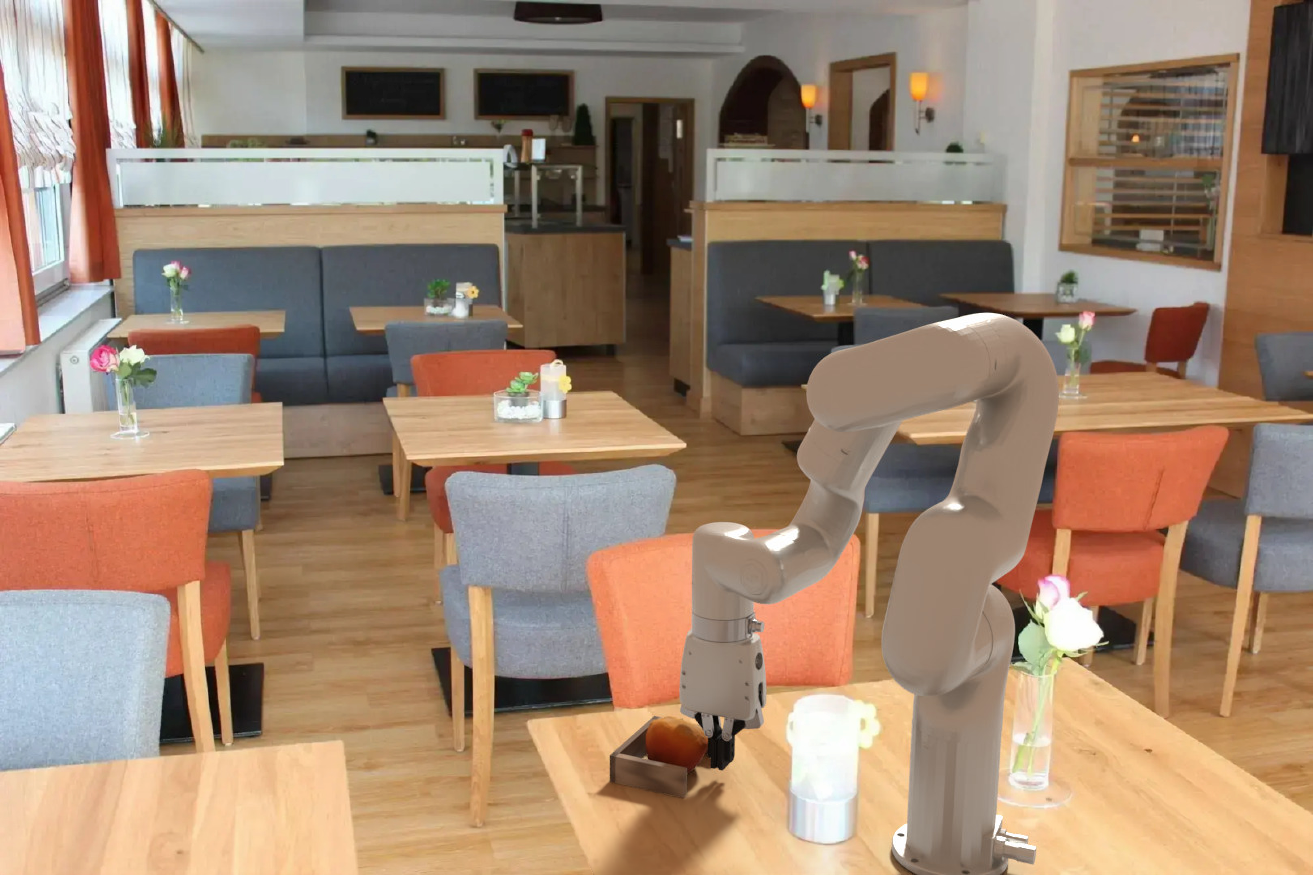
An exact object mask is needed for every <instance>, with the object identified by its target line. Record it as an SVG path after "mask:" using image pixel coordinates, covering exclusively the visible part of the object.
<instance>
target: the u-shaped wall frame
mask: <svg viewBox="0 0 1313 875" xmlns="http://www.w3.org/2000/svg"><path fill="white" fill-rule="evenodd" d="M661 718H664V716H663V717H661V716H657V715H654V716H652V717H651V718H650V719H649V720H648V721H647V722H645V724H644V725H642V726H641V727H640V728H639V729H637V730H636V731H635V732H634V733H633V734H632V735H631V736H630V737H628V738H627V739H626V740H625V741H624V742H622V744H621V745H619V746H618V747H617V748H616V749H615V750H614V751H613V752H612V753H611V754H610V755H609V782H610V783H615V784H619V785H623V786H627V787H628V786H629V787H633V788H635V789H636V788H637V789H641V790H645V791H646V790H647V791H650V792H655V793H658V794H663V795H669V796H673V797H678V798H681V799H685V797H686V796H687V795H688V773H687V768H685V767H680V766H676V765H671V764H666V763H662V762H657V761H652V760H648V758H644V757H645V756H647V752H646V746H645V745H646V733H647V730H648V727H649V725H650V723H651V722H652V721H653V720H657V719H661ZM695 724H696V725H698V726H700V725H699V724H698V723H695ZM700 727H701V726H700ZM701 729H702V727H701ZM702 730H703V729H702ZM703 731H704V730H703ZM704 756H708V748H707V751H706V753H705V754H704Z"/></svg>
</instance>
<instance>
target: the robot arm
mask: <svg viewBox="0 0 1313 875" xmlns="http://www.w3.org/2000/svg"><path fill="white" fill-rule="evenodd" d="M1059 385H1060V384H1059V379H1058V374H1057V370H1056V366H1055V364H1054V361H1053V359H1052V357H1051V355H1050V353H1049V351H1048V349H1047V348H1046V346H1045V345H1044V344H1043V342H1042V341H1041V340H1040V339H1039V337H1038V336H1037V335H1036V334H1035V333H1034V332H1033V331H1032V330H1031V329H1029V327H1027V326H1026V325H1024V324H1023V323H1021V322H1020V321H1019V320H1017V319H1015V318H1012V317H1010V316H1006V315H1005V314H1004V315H1003V314H1000V313H993V312H979V313H972V314H967V315H962V316H960V317H959V316H958V317H956V318H950V319H946V320H945V319H944V320H943V321H937V322H934V323H929V324H926V325H922V326H920V327H919V326H918V327H915V328H913V329H909V330H907V331H904V332H900V333H897V334H894V335H889V336H888V337H884V338H880V339H877V340H875V341H870V342H868V343H865V344H861V345H858V346H854V347H849V348H844V349H841V350H837V351H833V352H832V353H829V354H828V355H826V356H825V357H823V359H821V360H820V361H819V362H818V363H817V364H816V365H815V367H814V368H813V369H812V371H811V374H810V375H809V377H808V381H807V383H806V403H807V406H808V410H809V411H810V414H811V415H812V417H813V418H814V420H813V422H812V424H811V426H810V427H809V428H808V430H807V433H806V434H805V435H804V438H803V440H802V441H801V443H800V445H799V447H798V449H797V454H796V462H797V464H798V467H799V468H800V470H801V471H802V472H803V474H804V475H805V476H806V477H807V478H808V479H810V482H809V485H808V489H807V492H806V494H805V497H804V499H803V500H802V502H801V504H800V506H799V508H798V510H797V511H796V513H795V515H794V517H793V518H792V519H791V522H790V523H789V525H788V526H786V527H783V528H781V529H778V530H776V531H774V532H772V533H770V534H767V535H764V536H760V537H756V538H755V536H754V533H753V532H752V530H751V529H750V528H749V527H747V526H746V525H743V524H741V523H737V522H730V521H717V522H715V521H714V522H710V523H706V524H702V525H700V526H698V527H697V528H696V529H695V531H694V532H693V536H692V539H691V540H692V542H691V543H692V544H691V628H690V629H689V630H688V631H687V633H686V637H685V641H684V645H683V646H684V647H683V650H682V657H681V663H680V664H681V665H680V674H679V675H680V676H679V691H678V692H679V702H680V704H681V705H680V708H679V712H680V713H681V714H682V715H683V716H686V717H688V718H690V719H692V720H693V719H694V721H696V723H697V724H698V725H700V726H701V727H702V729H703V730H704V735H705V736H706V737H708V755H707V758H709V759H710V762H709V763H710V764H709V765H710V769H713V770H714V769H718V770H719V771H724V770H725V769H726V768H727V767H728V766H729V765H730V763H732V762H733V761H734V759H735V754H736V752H735V751H736V750H735V748H736V745H735V744H736V736H737V735H738V734H739V733H740V732H741V731H743V730H754V729H757V730H758V729H760V728H761V727H762V726H763V725H764V723H765V720H764V715H763V710H762V709H764V708H765V706H767V676H766V664H765V657H764V656H765V655H764V650H763V643H762V640H761V637H760V636H761V635H759V634H758V633H763V632H764V630H765V621H762V620H759V619H757V618H756V612H755V608H754V607H755V603H756V604H760V605H766V606H767V605H773V604H777V603H780V602H782V601H784V600H786V599H788V598H790V597H792V596H794V595H796V594H798V593H799V592H802V591H803V590H805V589H807V588H809V587H811V586H813V585H815V584H817V583H818V582H820V581H822V580H823V579H824V578H825V577H827V576H828V575H829V573H830V572H831V571H832V570H833V568H834V567H835V565H836V564H837V563H838V561H839V559H840V557H841V555H843V552H844V551H845V549H846V548H847V546H848V544H849V543H850V540H851V538H852V536H853V535H854V533H855V531H856V529H857V527H858V525H859V522H860V520H861V517H862V512H863V507H864V502H865V495H866V494H865V489H866V487H867V485H868V483H869V481H870V479H871V477H872V475H873V473H874V472H875V470H876V469H877V466H878V465H879V463H880V461H881V459H882V457H883V456H884V454H885V452H886V451H887V449H888V447H889V446H890V443H891V441H892V440H893V438H894V436H895V435H896V433H897V431H898V430H899V428H900V427H901V425H902V423H903V421H906V420H910V419H913V418H917V417H920V416H925V415H930V414H932V413H933V414H934V413H937V412H942V411H946V410H950V409H953V408H956V407H959V406H963V405H965V404H969V403H971V402H974V401H976V405H975V406H976V407H975V410H974V414H973V416H972V417H973V418H972V419H971V422H970V423H969V426H968V428H967V431H966V433H965V437H964V438H963V442H962V444H961V449H960V454H959V459H958V465H957V468H956V472H955V474H954V479H953V483H952V485H951V488H950V491H949V494H948V495H947V496H946V497H945V499H943V500H942V501H941V502H940V501H939V502H938V503H937V504H934V505H933V506H931V507H930V508H927V509H926V510H924V511H923V512H922V513H921V514H920V515H919V516H918V517H916V519H915V520H914V521H913V523H912V524H911V525H910V527H909V528H908V530H907V532H906V534H905V536H904V539H903V542H902V544H901V547H900V550H899V554H898V558H897V562H896V567H895V571H894V576H893V581H892V584H891V589H890V595H889V599H888V603H887V606H886V607H887V608H886V612H885V616H884V622H883V626H882V632H881V653H882V658H883V662H884V664H885V667H886V669H887V671H888V673H889V674H890V676H891V678H892V679H893V680H894V681H895V683H896V684H898V686H900V687H901V689H902V688H903V690H905V691H907V692H908V693H910V694H913V703H912V718H911V732H910V734H911V735H910V753H909V754H910V755H909V774H908V777H909V778H908V795H907V818H906V819H907V820H906V823H905V824H903V825H902V826H900V827H899V828H898V829H897V830H896V831H895V832H894V834H893V836H892V839H891V852H892V854H893V856H894V858H895V860H896V861H897V862H898V863H899V864H900V865H901V866H903V867H904V868H905V869H906V870H908V871H909V872H911V873H913V874H915V875H1002V874H1003V873H1004V872H1005V870H1006V869H1007V867H1008V864H1009V860H1014V861H1016V862H1018V863H1024V864H1029V865H1034V864H1035V861H1036V856H1037V846H1034V845H1031V844H1029V835H1025V834H1021V833H1013V832H1007V831H1008V830H1007V829H1006V828H1003V816H1002V815H998V814H997V813H998V812H997V809H998V793H999V778H1000V764H1001V761H1000V760H1001V748H1002V747H1001V746H1002V732H1003V722H1004V711H1005V707H1004V706H1005V698H1006V697H1005V696H1006V688H1007V682H1008V678H1009V677H1008V676H1009V672H1010V671H1009V670H1010V666H1011V662H1012V656H1013V653H1014V652H1013V650H1014V644H1015V636H1016V623H1015V618H1014V614H1013V610H1012V607H1011V605H1010V603H1009V602H1008V599H1007V598H1006V597H1005V595H1004V594H1003V593H1002V592H1001V590H1000V589H998V588H997V586H994V585H993V583H995V582H996V581H998V580H999V579H1000V578H1002V577H1004V575H1006V574H1008V573H1010V572H1011V571H1012V570H1013V569H1014V568H1015V567H1016V566H1017V565H1018V564H1019V563H1020V562H1021V560H1022V559H1023V557H1024V555H1025V552H1026V550H1027V546H1028V542H1029V539H1030V538H1029V537H1030V534H1031V529H1032V523H1033V519H1034V516H1035V511H1036V507H1037V503H1038V500H1039V497H1040V496H1039V495H1040V492H1041V488H1042V483H1043V478H1044V473H1045V468H1046V465H1047V460H1048V456H1049V452H1050V449H1051V444H1052V441H1053V437H1054V432H1055V428H1056V425H1057V418H1058V413H1059V404H1060V387H1059ZM721 718H724V719H723V725H722V721H721Z"/></svg>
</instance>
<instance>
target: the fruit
mask: <svg viewBox="0 0 1313 875" xmlns="http://www.w3.org/2000/svg"><path fill="white" fill-rule="evenodd" d="M696 724H697V723H693V722H691V721H688V720H685V719H684V718H677V717H675V716H669V715H666V716H663V718H661V719H657V720H653V721H652V722H651V723H650V725H649V727H648V730H647V733H646V745H645V746H646V752H647V754H646V756H647V757H646V758H647V759H648V760H652V761H657V762H662V763H666V764H671V765H676V766H680V767H685V768H687V774H690V773H691V772H693V771H694V770H695V769H696V768H697V766H698V765H699V764H700V762H701V761H702V759H703V758H704V756H705V755H704V754H705V753H706V751H707V748H708V737H706V736H705V735H704V731H703V730H702V729H701V727H700V726H698V725H699V724H698V725H696Z"/></svg>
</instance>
